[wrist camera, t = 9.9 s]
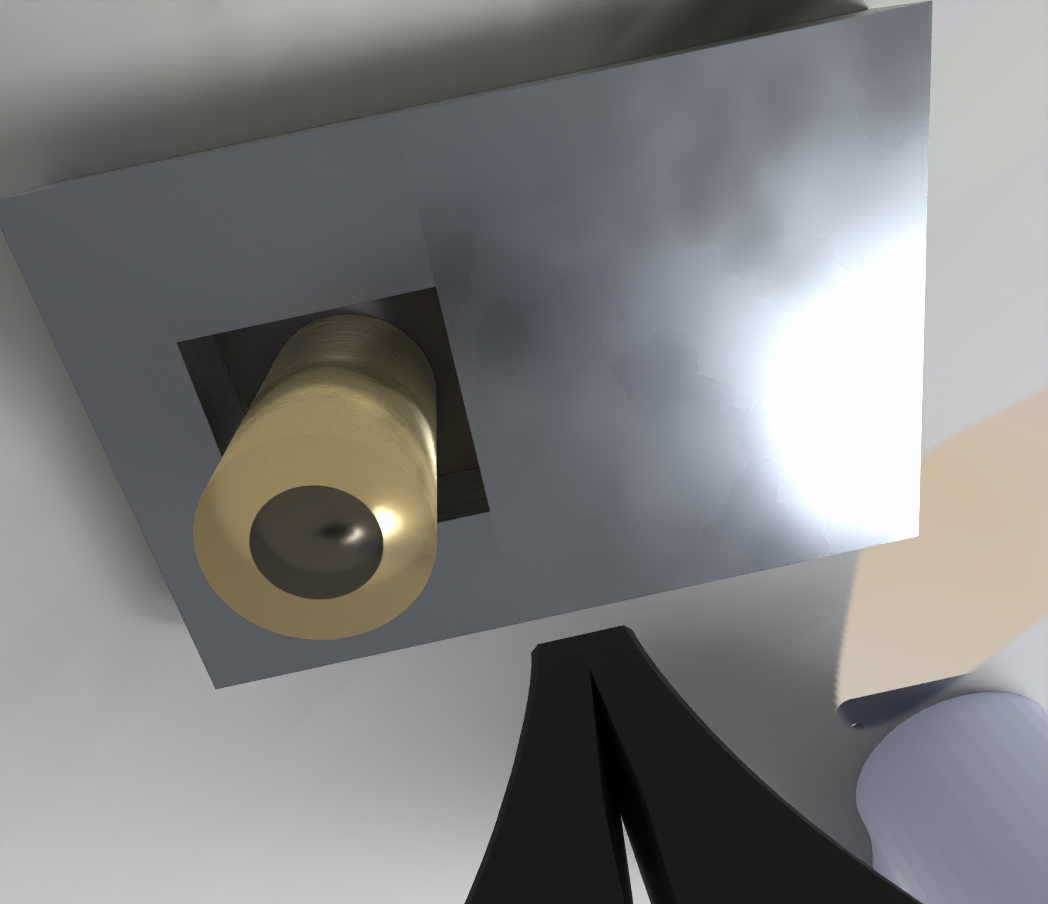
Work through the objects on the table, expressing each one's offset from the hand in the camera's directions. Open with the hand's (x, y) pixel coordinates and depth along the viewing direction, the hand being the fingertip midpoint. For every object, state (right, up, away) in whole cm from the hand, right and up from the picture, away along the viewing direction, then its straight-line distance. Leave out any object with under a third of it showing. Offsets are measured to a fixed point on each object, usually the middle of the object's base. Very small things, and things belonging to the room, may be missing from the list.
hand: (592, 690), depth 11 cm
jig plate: (-1, +6, +9) cm, 10 cm away
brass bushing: (-5, +5, +9) cm, 11 cm away
